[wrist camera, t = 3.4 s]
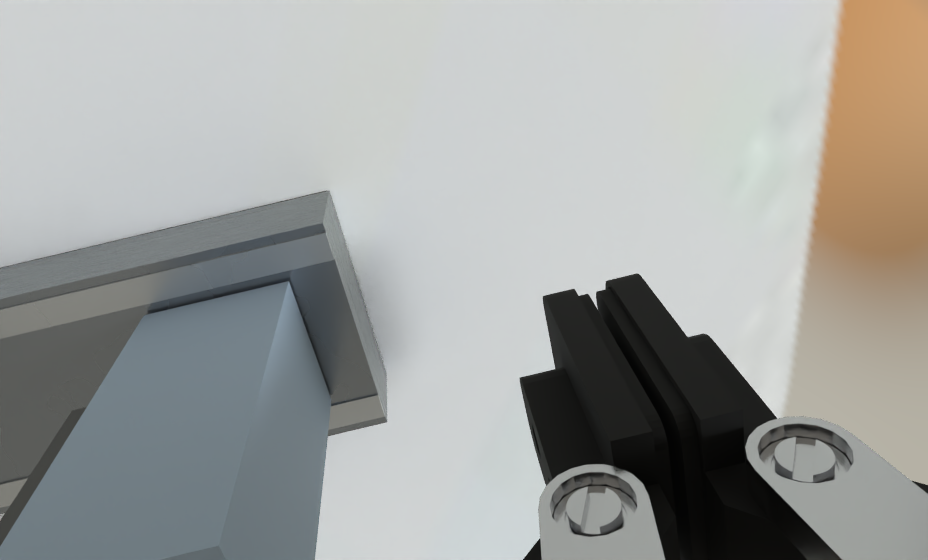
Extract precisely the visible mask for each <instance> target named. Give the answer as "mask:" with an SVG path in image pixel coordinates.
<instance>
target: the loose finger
mask: <svg viewBox="0 0 928 560" xmlns="http://www.w3.org/2000/svg"><path fill="white" fill-rule="evenodd" d="M330 409H331V397H330V394H329V391H328V389H327V386H326V383H325V380H324V378H323V375H322V372H321V369H320V366H319V364H318V361H317V358H316V355H315V352H314V350H313V347H312V344H311V341H310V339H309V336H308V333H307V330H306V327H305V325H304V322H303V319H302V316H301V314H300V311H299V308H298V305H297V302H296V300H295V297H294V294H293V291H292V289H291V286H290V283H289V281H287V282H283V283H278V284H274V285H270V286H266V287H261V288H257V289H253V290H249V291H245V292H240V293H236V294H232V295H228V296H223V297H219V298H215V299H211V300H207V301H202V302H198V303H194V304H190V305H185V306H181V307H177V308H173V309H168V310H164V311H160V312H156V313H152V314H147V315H144V316H143V318H142V319H141V321H140V322H139V324H138V326H137V327H136V329H135V331H134V332H133V334H132V335H131V337H130V339H129V340H128V342H127V343H126V345H125V347H124V348H123V350H122V351H121V353H120V355H119V356H118V358H117V359H116V361H115V363H114V364H113V366H112V368H111V369H110V371H109V372H108V374H107V376H106V377H105V379H104V380H103V382H102V384H101V385H100V387H99V388H98V390H97V392H96V393H95V395H94V396H93V398H92V400H91V401H90V403H89V405H88V406H87V407H85V408H80V409H76V410H72V411H71V413H70V414H69V416H68V417H67V419H66V420H65V422H64V424H63V425H62V427H61V428H60V430H59V431H58V433H57V434H56V436H55V437H54V439H53V441H52V442H51V444H50V445H49V447H48V448H47V450H46V451H45V453H44V454H43V456H42V457H41V459H40V461H39V462H38V464H37V465H36V467H35V468H34V470H33V471H32V473H31V474H30V476H29V478H28V479H27V481H26V482H25V484H24V485H23V487H22V488H21V490H20V491H19V493H18V494H17V496H16V498H15V499H14V501H13V502H12V504H11V505H10V507H9V508H8V510H7V511H6V513H5V515H4V516H3V518H2V519H1V521H0V560H315V552H316V542H317V533H318V523H319V514H320V504H321V495H322V485H323V476H324V466H325V457H326V447H327V438H328V428H329V419H330Z"/></svg>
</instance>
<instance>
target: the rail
mask: <svg viewBox="0 0 928 560" xmlns="http://www.w3.org/2000/svg"><path fill="white" fill-rule="evenodd" d="M287 281H289V283H290V286H291V289H292V291H293V294H294V297H295V300H296V302H297V305H298V308H299V311H300V314H301V316H302V319H303V322H304V325H305V327H306V330H307V333H308V336H309V339H310V341H311V344H312V347H313V350H314V352H315V355H316V358H317V361H318V364H319V366H320V369H321V372H322V375H323V378H324V380H325V383H326V386H327V389H328V391H329V394H330V397H331V409H330V419H329V428H328V436H331V435H335V434H339V433H343V432H347V431H352V430H356V429H360V428H364V427H368V426H373V425H377V424H381V423H385V422H387V379H386V371H385V368H384V365H383V361H382V358H381V355H380V352H379V348H378V345H377V342H376V339H375V336H374V332H373V329H372V326H371V323H370V320H369V316H368V313H367V310H366V307H365V303H364V300H363V297H362V294H361V291H360V287H359V284H358V281H357V278H356V275H355V271H354V268H353V265H352V262H351V258H350V255H349V252H348V249H347V246H346V242H345V239H344V236H343V233H342V230H341V226H340V223H339V220H338V217H337V213H336V210H335V207H334V204H333V201H332V197H331V194H330V191H325V192H321V193H316V194H312V195H308V196H304V197H300V198H295V199H291V200H287V201H283V202H278V203H274V204H270V205H266V206H261V207H257V208H253V209H249V210H245V211H240V212H236V213H232V214H228V215H223V216H219V217H215V218H211V219H206V220H202V221H198V222H194V223H190V224H185V225H181V226H177V227H173V228H168V229H164V230H160V231H156V232H151V233H147V234H143V235H139V236H135V237H130V238H126V239H122V240H118V241H113V242H109V243H105V244H101V245H96V246H92V247H88V248H84V249H80V250H75V251H71V252H67V253H63V254H58V255H54V256H50V257H46V258H41V259H37V260H33V261H29V262H25V263H20V264H16V265H12V266H8V267H3V268H0V514H2V513H6V511H7V510H8V508H9V507H10V505H11V504H12V502H13V501H14V499H15V498H16V496H17V494H18V493H19V491H20V490H21V488H22V487H23V485H24V484H25V482H26V481H27V479H28V478H29V476H30V474H31V473H32V471H33V470H34V468H35V467H36V465H37V464H38V462H39V461H40V459H41V457H42V456H43V454H44V453H45V451H46V450H47V448H48V447H49V445H50V444H51V442H52V441H53V439H54V437H55V436H56V434H57V433H58V431H59V430H60V428H61V427H62V425H63V424H64V422H65V420H66V419H67V417H68V416H69V414H70V413H71V411H72V410H76V409H80V408H85V407H87V406H88V405H89V403H90V401H91V400H92V398H93V396H94V395H95V393H96V392H97V390H98V388H99V387H100V385H101V384H102V382H103V380H104V379H105V377H106V376H107V374H108V372H109V371H110V369H111V368H112V366H113V364H114V363H115V361H116V359H117V358H118V356H119V355H120V353H121V351H122V350H123V348H124V347H125V345H126V343H127V342H128V340H129V339H130V337H131V335H132V334H133V332H134V331H135V329H136V327H137V326H138V324H139V322H140V321H141V319H142V318H143V316H144V315H147V314H152V313H156V312H160V311H164V310H168V309H173V308H177V307H181V306H185V305H190V304H194V303H198V302H202V301H207V300H211V299H215V298H219V297H223V296H228V295H232V294H236V293H240V292H245V291H249V290H253V289H257V288H261V287H266V286H270V285H274V284H278V283H283V282H287Z"/></svg>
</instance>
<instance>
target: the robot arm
mask: <svg viewBox="0 0 928 560" xmlns="http://www.w3.org/2000/svg"><path fill="white" fill-rule="evenodd" d="M596 299H597V306H598V310H597V308H596V306H595V305H594V303H593V301H592V299H591V298H590V296H589V295H588V294H585V295H581V296H578V294H577V293H576V291H575V289H571V290H567V291H563V292H558V293H554V294H550V295H546V296H543V304H544V310H545V315H546V320H547V326H548V331H549V337H550V342H551V347H552V353H553V358H554V363H555V369H554V370H550V371H546V372H542V373H538V374H534V375H530V376H525V377H521V378H520V384H521V389H522V394H523V399H524V403H525V408H526V413H527V417H528V422H529V426H530V430H531V434H532V438H533V442H534V446H535V450H536V453H537V457H538V460H539V464H540V467H541V471H542V474H543V477H544V481H545V484H546V487H545V489H544V491H543V493H542V494H541V496H540V501H539V508H538V513H539V527H540V539H539V540H538V541H537V543H536V544H535V545H534V546H533V548H532V549H531V550H530V552H529V553H528V554H527V555H526V557H525V558H524V559H523V560H928V485H925V484H921V483H918V482H914V481H911V480H910V479H908V478H907V477H906V476H905V475H903V474H902V473H901V472H900V471H898V470H897V469H896V468H895V467H893V466H892V465H891V464H890V463H888V462H887V461H886V460H885V459H883V458H882V457H881V456H880V455H878V454H877V453H876V452H875V451H873V450H872V449H871V448H870V447H868V446H867V445H866V444H865V443H863V442H862V441H861V440H860V439H858V438H857V437H856V436H855V435H853V434H852V433H850V432H849V431H847V430H845V429H844V428H842V427H840V426H839V425H836V424H834V423H831V422H828V421H825V420H822V419H817V418H811V417H804V416H799V417H783V418H779V419H777V418H776V416H775V415H774V414H773V413H772V411H771V410H770V409H769V408H768V407H767V405H766V404H765V403H764V402H763V401H762V399H761V398H760V397H759V396H758V394H757V393H756V392H755V391H754V390H753V388H752V387H751V386H750V385H749V383H748V382H747V381H746V380H745V379H744V377H743V376H742V375H741V374H740V373H739V371H738V370H737V369H736V368H735V366H734V365H733V364H732V363H731V362H730V360H729V359H728V358H727V357H726V355H725V354H724V353H723V352H722V351H721V349H720V348H719V347H718V346H717V344H716V343H715V342H714V341H713V340H712V339H711V338H710V337H709V336H708V335H707V334H700V335H696V336H692V337H687V336H686V334H685V333H684V332H683V331H682V329H681V328H680V327H679V325H678V324H677V323H676V321H675V320H674V319H673V317H672V316H671V315H670V314H669V312H668V311H667V310H666V308H665V307H664V306H663V304H662V303H661V302H660V300H659V299H658V298H657V297H656V295H655V294H654V293H653V291H652V290H651V289H650V287H649V286H648V285H647V283H646V282H645V281H644V280H643V278H642V277H641V276H640V275H639V274H633V275H629V276H625V277H621V278H617V279H612V280H608V281H606V290H602V291H598V292H597V293H596Z"/></svg>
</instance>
